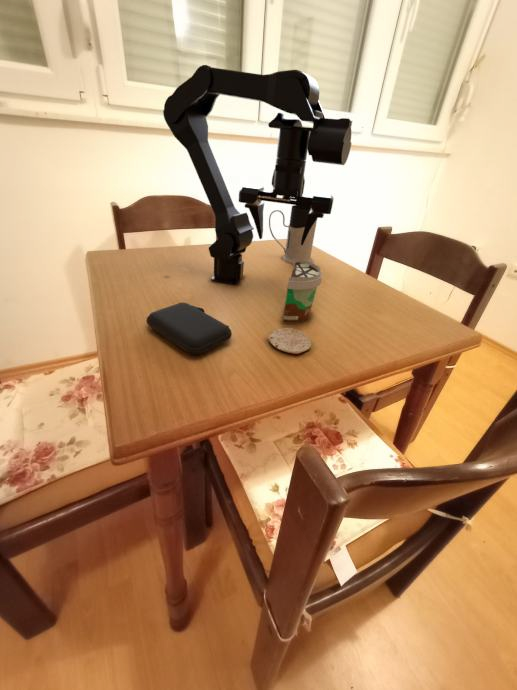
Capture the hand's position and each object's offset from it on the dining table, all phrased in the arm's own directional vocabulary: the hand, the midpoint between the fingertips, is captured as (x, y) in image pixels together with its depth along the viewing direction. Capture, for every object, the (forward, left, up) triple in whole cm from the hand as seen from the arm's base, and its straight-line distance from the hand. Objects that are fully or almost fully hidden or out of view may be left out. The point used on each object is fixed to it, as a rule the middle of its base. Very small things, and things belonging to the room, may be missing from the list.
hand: (281, 241), depth 68 cm
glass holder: (-1, +26, -12) cm, 29 cm away
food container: (+7, -9, -12) cm, 17 cm away
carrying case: (-11, -24, -12) cm, 29 cm away
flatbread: (+7, -21, -12) cm, 25 cm away
